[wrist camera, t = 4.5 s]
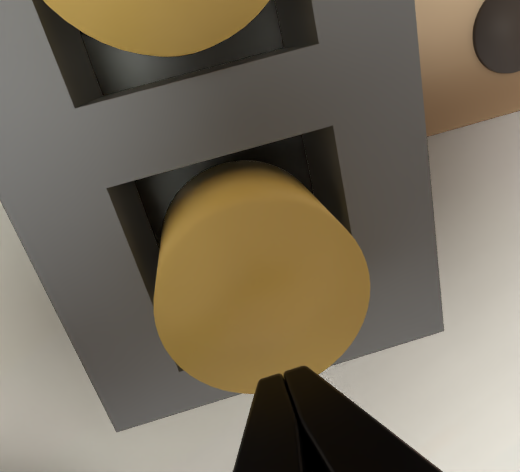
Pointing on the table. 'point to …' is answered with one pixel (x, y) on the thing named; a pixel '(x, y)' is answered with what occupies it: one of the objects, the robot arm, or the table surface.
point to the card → (468, 60)
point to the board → (202, 149)
